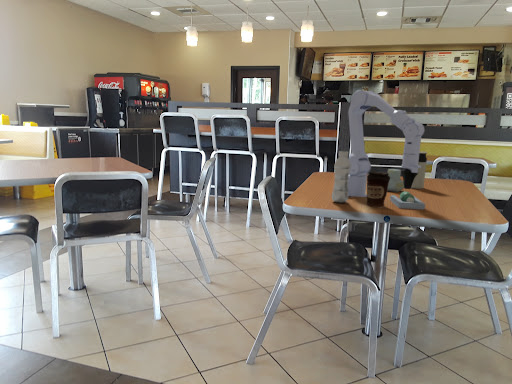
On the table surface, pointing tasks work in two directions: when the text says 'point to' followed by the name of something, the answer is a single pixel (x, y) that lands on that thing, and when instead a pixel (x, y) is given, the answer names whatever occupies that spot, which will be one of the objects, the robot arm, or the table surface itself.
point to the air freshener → (395, 181)
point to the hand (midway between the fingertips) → (407, 188)
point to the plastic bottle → (341, 177)
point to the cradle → (407, 203)
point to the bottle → (406, 197)
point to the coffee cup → (377, 188)
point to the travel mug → (420, 171)
